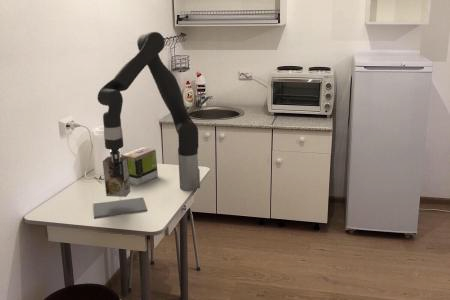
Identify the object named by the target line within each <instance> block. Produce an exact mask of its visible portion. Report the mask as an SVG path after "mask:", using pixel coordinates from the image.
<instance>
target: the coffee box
mask: <svg viewBox="0 0 450 300" xmlns="http://www.w3.org/2000/svg"><path fill="white" fill-rule="evenodd" d="M115 165H118V163H115ZM102 168H103V175H104V176H103V177H104V183H105V185H104V186H105V196H106V197H115V198H116V197H117V198H118V197H119V198H124V197H125V198H126V197H128V195H129V194H130V193H131V183H130V181H129V170H128V158H127V157H121V156H120V176H119V177H115V174H114V168H113V163H112V159H111V156H107V157H106V158H105V159H104V160H102Z"/></svg>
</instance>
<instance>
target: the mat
mask: <svg viewBox="0 0 450 300" xmlns="http://www.w3.org/2000/svg"><path fill="white" fill-rule="evenodd" d="M143 212H148V207H147V205H146V202H145V199H144V197H143V196H142V197H136V198H127V199H120V200H112V201H105V202H104V201H103V202H102V201H101V202H97V203H93V217H94V219H100V218H107V217H113V216H121V215H128V214H137V213H143Z"/></svg>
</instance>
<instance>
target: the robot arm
mask: <svg viewBox="0 0 450 300" xmlns="http://www.w3.org/2000/svg"><path fill="white" fill-rule="evenodd" d="M136 44H137V49H138V52H137V54H136V55H134V56H133V57H132V58H131V59H130V60H129V61H128V62H126V63H125V64H124V65H123V66H122V67H121V68H120V69H119V71H118V72H117V73H116V74H115V76H114V77H113V79H111V80H110V81H108V82H107V83H106V84H104V85H103V86H102V87H101V88H100V89H99V91H98V94H97V101H98V103H99V104H100V105H102V106H107V107H108V110H107V111H105V112H104V113H103V114H102V121H103V136H104V137H103V138H104V139H103V140H104V148H105V149H107V150H109V155H110V156H109V157H111V159H112V163H113V168H114V174H115V177H119V176H120V157H121V152H120V150H119V149H122V148H123V147H124V135H123V127H122V119H121V114H122V109H123V103H124V99H123V94H122V93H121V92H124V91H126V90H128V89H129V88H130V86H131V85H132V84H133V83H134V81H135V80H136V78H137V77H138V76H139V74H140V73H142V71H143V70H144V69H145V68H146V67H147V68H148V69H149V71H150V73H151V76H152V78H153V81H154V82H155V85H156V88H157V90H158V93H159V95H160V96H161V99H162V101H163V102H164V104H165V106H166V108H167V109H168V111H169V113H170V115H171V117H172V121H173V123H174V124H173V125H174V127H175V131H176V133H177V135H178V136H177V137H178V148H177V157H178V158H177V159H178V174H179V177H178V178H179V189H180V190H182V191H186V192H187V191H189V192H190V191H196V190H198V189H201V176H200V168H199V156H198V155H199V154H198V153H199V152H198V151H199V128H198V126H197V124H196V123H195V122H194V121H193V119H192V118H191V116H190V114H189V113H188V111H187V109H186V106H185V102H184V97H183V93H182V90H181V88H180V85H179V83H178V80H177V78H176V76H175V75H174V74H173V73H172V72H171V70H170V69H169V68H168V67H167V66H166V65H165V64H164V62H163V61H162V59H161V58H160V55H159V54H160V53H161V52H162V50H164V48H165V45H166V42H165V38H164V36H163V35H162V33H160V32H158V31H150V32H147V33H143V34H141V35H139V36H138V37H137V41H136ZM115 163H118V165H115Z"/></svg>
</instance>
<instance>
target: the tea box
mask: <svg viewBox="0 0 450 300" xmlns="http://www.w3.org/2000/svg"><path fill="white" fill-rule="evenodd" d="M120 157H127V158H128V170H129V181H130V185H134V186H139V185H141V184H143V183H146V182H148V181H150V180H152V179H155V178H156V177H158V176H159V173H158V172H159V171H158V162H157V150H156V149H154V148H149V147H145V146H140V147H138V148H135V149H132V150H129V151H127V152H123V153H122V154H121V153H120Z"/></svg>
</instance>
